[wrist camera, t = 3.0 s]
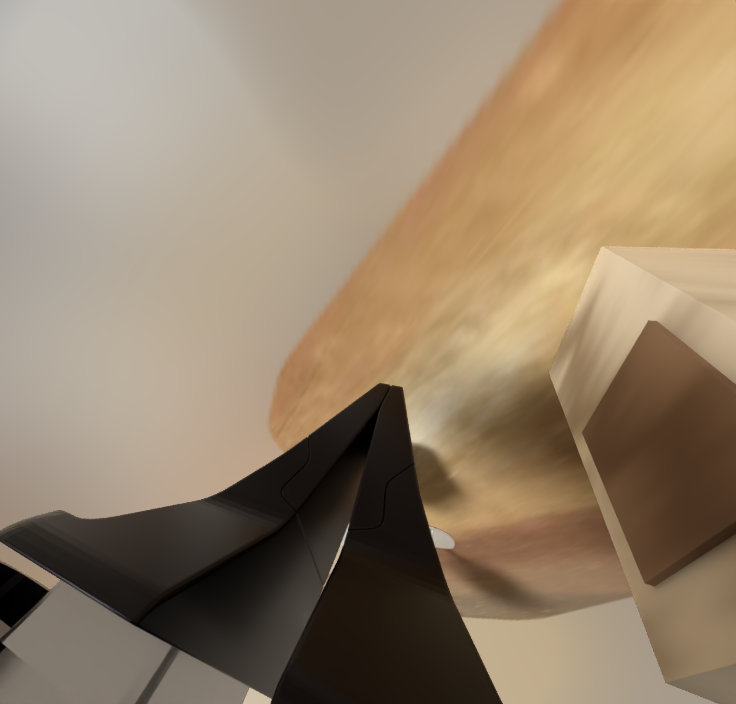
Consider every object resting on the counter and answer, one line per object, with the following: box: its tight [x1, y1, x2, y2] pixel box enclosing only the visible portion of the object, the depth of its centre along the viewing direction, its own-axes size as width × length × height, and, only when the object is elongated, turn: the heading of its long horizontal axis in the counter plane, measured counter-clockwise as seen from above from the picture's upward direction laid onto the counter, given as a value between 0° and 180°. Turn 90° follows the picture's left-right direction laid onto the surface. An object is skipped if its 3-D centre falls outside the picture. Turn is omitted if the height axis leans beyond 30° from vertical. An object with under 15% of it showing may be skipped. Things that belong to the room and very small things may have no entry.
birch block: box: [549, 246, 736, 704], centre depth 8 cm, size 7×5×12 cm
